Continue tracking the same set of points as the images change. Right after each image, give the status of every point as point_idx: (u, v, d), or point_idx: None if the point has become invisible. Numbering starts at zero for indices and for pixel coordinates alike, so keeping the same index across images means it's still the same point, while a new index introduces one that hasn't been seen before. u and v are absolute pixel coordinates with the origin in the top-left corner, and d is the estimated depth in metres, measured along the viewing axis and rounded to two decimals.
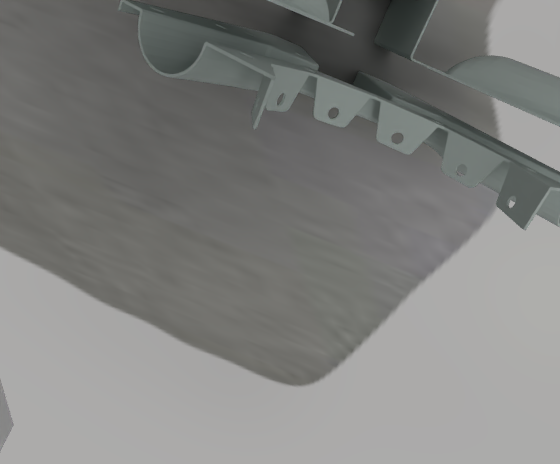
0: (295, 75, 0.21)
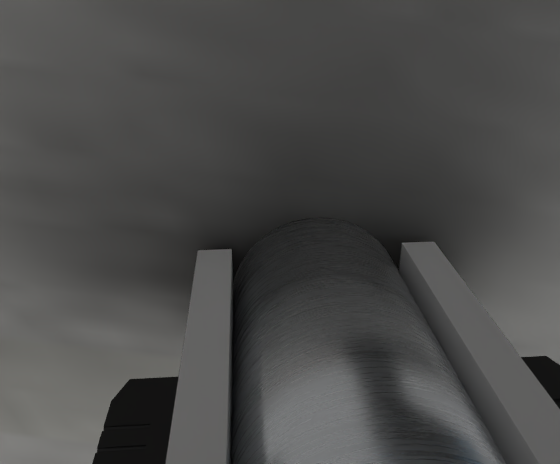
0: None
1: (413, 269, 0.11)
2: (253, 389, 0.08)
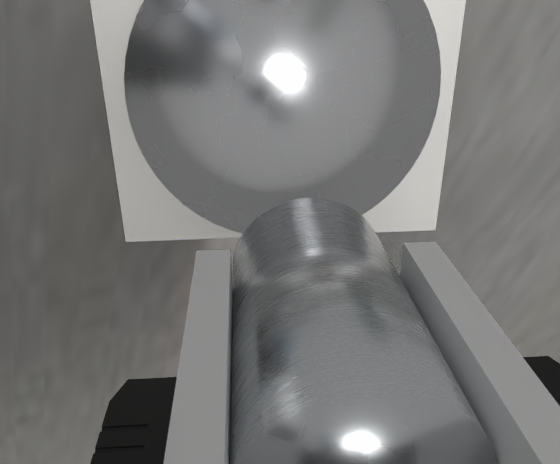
0: None
1: (415, 269, 0.11)
2: (249, 338, 0.09)
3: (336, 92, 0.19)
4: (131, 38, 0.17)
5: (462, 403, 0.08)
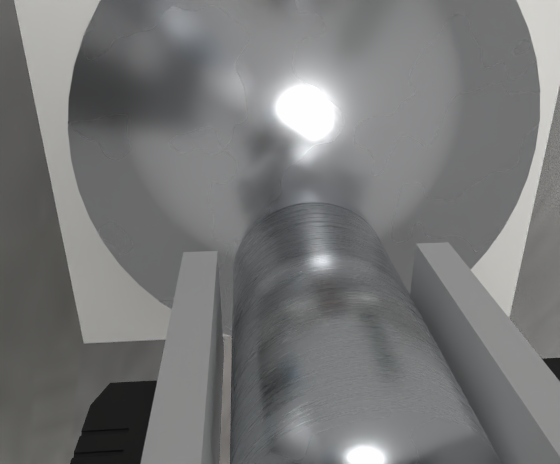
0: None
1: (428, 270, 0.11)
2: (251, 349, 0.09)
3: (384, 148, 0.13)
4: (76, 71, 0.11)
5: (471, 419, 0.07)
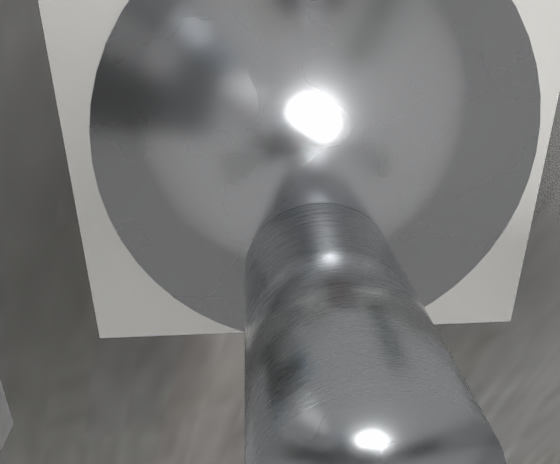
0: None
1: None
2: (264, 339, 0.10)
3: (391, 150, 0.13)
4: (98, 77, 0.12)
5: (471, 403, 0.08)
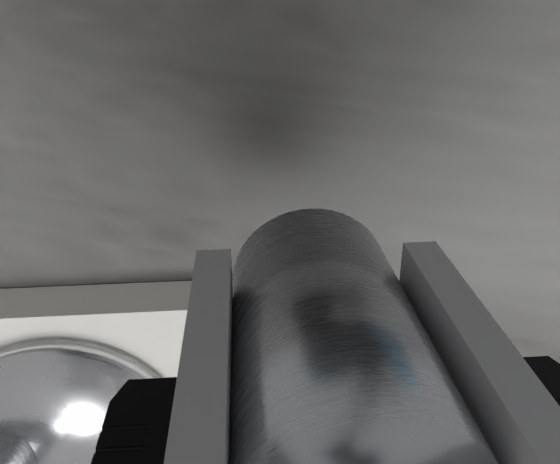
0: None
1: (414, 270, 0.11)
2: None
3: None
4: (91, 360, 0.22)
5: None
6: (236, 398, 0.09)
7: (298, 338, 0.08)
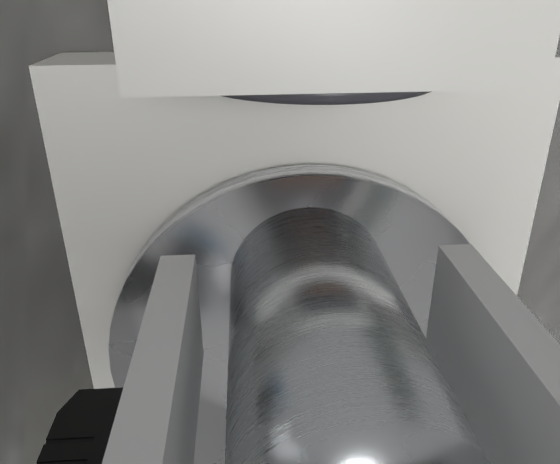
0: None
1: (453, 272, 0.11)
2: None
3: None
4: (117, 309, 0.14)
5: None
6: (232, 397, 0.09)
7: (294, 338, 0.09)
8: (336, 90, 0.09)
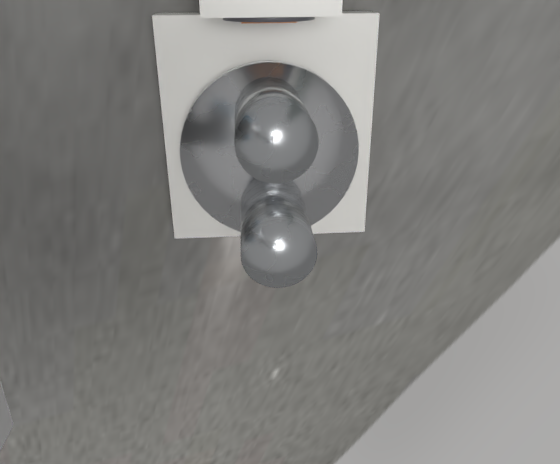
0: None
1: None
2: (247, 216, 0.29)
3: None
4: (184, 125, 0.31)
5: (305, 226, 0.27)
6: (236, 119, 0.26)
7: (257, 96, 0.26)
8: (270, 16, 0.26)
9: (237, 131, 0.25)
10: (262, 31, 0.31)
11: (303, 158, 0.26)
